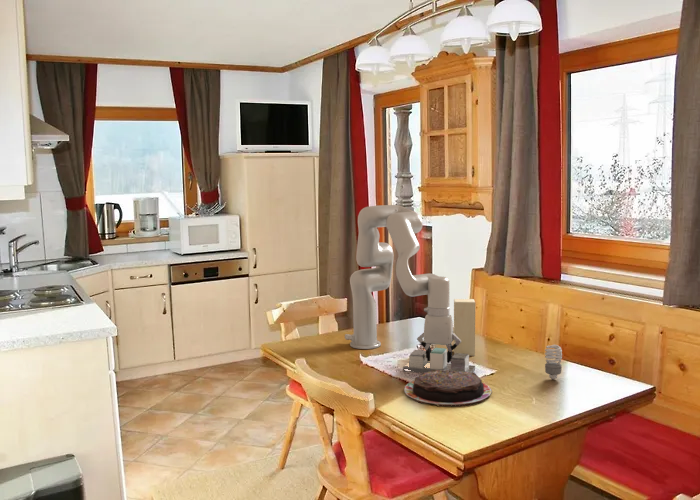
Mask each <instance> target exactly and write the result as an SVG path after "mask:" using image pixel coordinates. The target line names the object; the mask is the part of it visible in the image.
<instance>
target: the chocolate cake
mask: <svg viewBox="0 0 700 500" xmlns="http://www.w3.org/2000/svg"><path fill="white" fill-rule="evenodd" d="M482 381H483V380H482V379H481V378H480V377H479V375H477V373H475V371H474V372H472V373H468V372H461V371H448V369H447V370H431V371H429V372H426V373H421V374H419V375H417V376H416V377H415V379H414V380H412V381H410V382H408V383H407V384H406V385H405V386H404V389H403V392H404V394H405V396H407V397H408V398H410V399H413V400H415V401H416V402H418V403H419V404H431V405H436V406H439V407H446V408H447V407H466V406H467V407H468V406H471V405H472V404H481V403H482V402H484V401H485V400H487V399H490V396H491V394H492V392H493V390H492V388H491V387H490V386H489V385H488V384H486V383H484V382H482Z"/></svg>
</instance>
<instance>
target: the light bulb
mask: <svg viewBox="0 0 700 500" xmlns="http://www.w3.org/2000/svg"><path fill="white" fill-rule="evenodd" d="M544 351H545V352H544V355H545V356H544V358H545V364H544V369H545V373H546V374H548V375H549V378H550V379H551V381H552V380H553V381H554V380H556V379H557V378H558V375H560V374H562V369H563V368H562V364H561V362H562V359H563V353H562V352H563V350H562V347H561V346H559V345H558V344H552V345H546V347H545V349H544Z"/></svg>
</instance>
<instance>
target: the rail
mask: <svg viewBox="0 0 700 500" xmlns="http://www.w3.org/2000/svg"><path fill="white" fill-rule="evenodd" d="M408 356H409V357H408V360H409V361H408V362H409V367H408V366H405V365H404V366H403V367H402V371H403V370H404V369H408V370H411V371H414V372H413V373H417V374H420V373H421V374H423V373H426V372H429V371H431V370H447V369H448V371H461V372H468V373H472V372H474V373H475V371H476V365H472V364H471V365H470V356H469V355H468V354H464V353H455V354H452V358H451V361H450V363H448V362H447V365H446V366H445V367H444V369H432V368H427V367H426V368H425V367H424V366H425V365H426V364H427V363H430V361H427V358H426V350H425V349H424V350H422V349H414V350H413V351H412V352H410V354H409V355H408ZM419 372H420V373H419ZM422 372H423V373H422Z"/></svg>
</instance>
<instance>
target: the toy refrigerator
mask: <svg viewBox="0 0 700 500" xmlns="http://www.w3.org/2000/svg"><path fill="white" fill-rule="evenodd" d="M453 331H454V334H455V335H456V336H457V337H458V338H459V339H460V340H461V343H460V344H459V345H458V346H457V347H456V348H455V349H454V350H453V353H454V354H455V353H464V354H468V355H469V357H470V356H473V357H474V356H476V301H475V299H474V298H454V299H453ZM455 343H456V341H455V340H453V345H454V344H455ZM454 354H453V355H454Z"/></svg>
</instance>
